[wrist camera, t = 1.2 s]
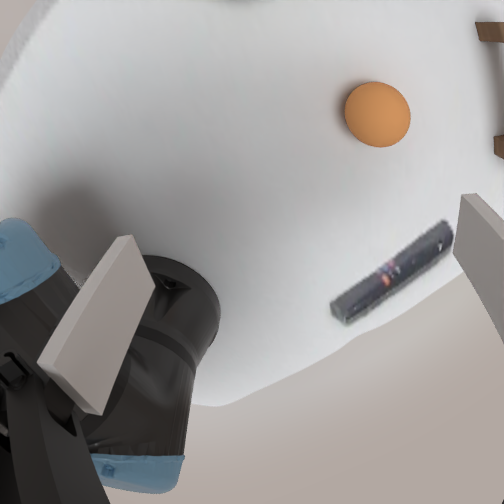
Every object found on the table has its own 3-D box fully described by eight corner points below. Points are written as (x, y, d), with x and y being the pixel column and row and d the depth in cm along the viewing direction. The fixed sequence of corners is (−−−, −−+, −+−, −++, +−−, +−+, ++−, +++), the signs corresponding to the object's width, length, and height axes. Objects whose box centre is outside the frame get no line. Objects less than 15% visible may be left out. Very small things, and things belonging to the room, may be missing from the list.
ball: (346, 144, 27) (363, 162, 22) (330, 86, 24) (346, 92, 20) (400, 131, 26) (426, 147, 21) (387, 75, 23) (414, 79, 18)
